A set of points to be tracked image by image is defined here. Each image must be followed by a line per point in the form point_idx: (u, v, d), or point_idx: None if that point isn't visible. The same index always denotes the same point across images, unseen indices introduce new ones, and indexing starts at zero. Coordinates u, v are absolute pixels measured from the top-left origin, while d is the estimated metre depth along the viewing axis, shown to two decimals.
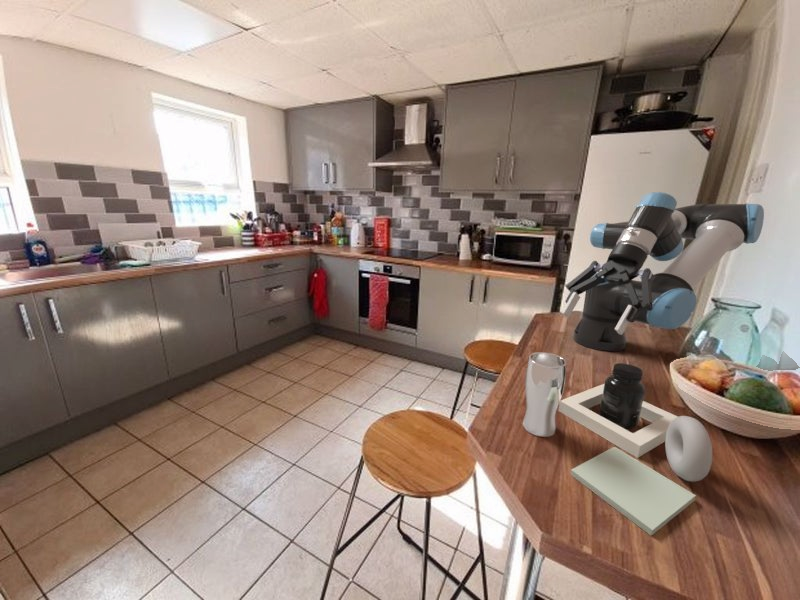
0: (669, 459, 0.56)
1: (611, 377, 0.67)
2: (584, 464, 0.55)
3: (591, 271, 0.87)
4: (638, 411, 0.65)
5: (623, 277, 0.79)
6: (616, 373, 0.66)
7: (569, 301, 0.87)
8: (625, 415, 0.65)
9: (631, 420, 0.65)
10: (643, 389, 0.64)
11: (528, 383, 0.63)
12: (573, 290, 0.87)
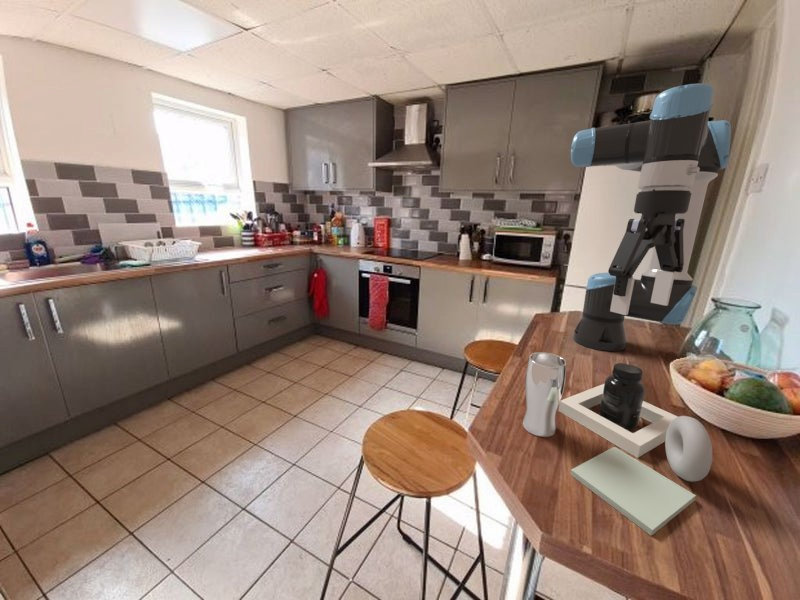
0: (669, 459, 0.56)
1: (611, 377, 0.67)
2: (584, 464, 0.55)
3: None
4: (638, 411, 0.65)
5: (672, 239, 0.59)
6: (616, 373, 0.66)
7: (630, 295, 0.57)
8: (625, 415, 0.65)
9: (631, 420, 0.65)
10: (643, 389, 0.64)
11: (528, 383, 0.63)
12: (630, 276, 0.56)
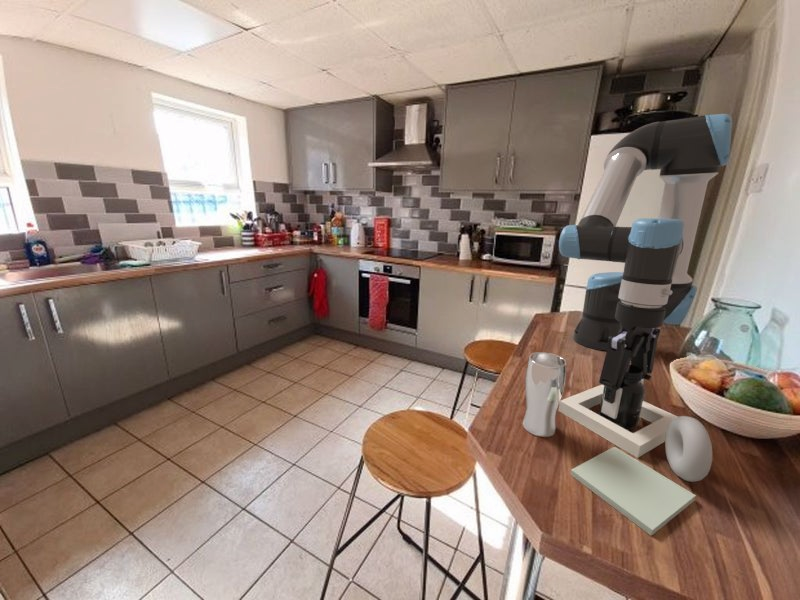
0: (669, 459, 0.56)
1: None
2: (584, 464, 0.55)
3: None
4: (638, 411, 0.65)
5: (647, 347, 0.64)
6: None
7: (618, 402, 0.64)
8: (625, 415, 0.65)
9: (631, 420, 0.65)
10: (643, 389, 0.64)
11: (528, 383, 0.63)
12: None
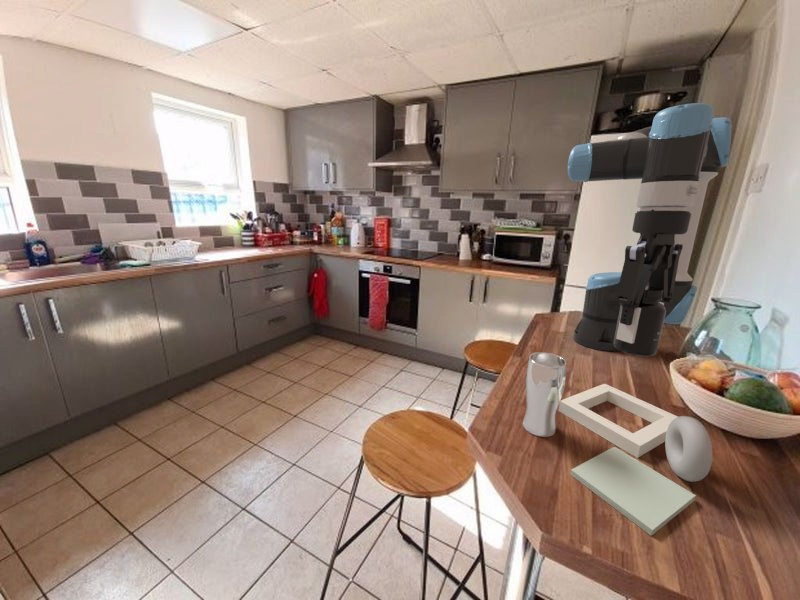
0: (669, 459, 0.56)
1: None
2: (584, 464, 0.55)
3: None
4: (658, 334, 0.58)
5: (669, 261, 0.57)
6: None
7: (636, 323, 0.58)
8: (643, 338, 0.58)
9: (650, 345, 0.58)
10: (664, 309, 0.58)
11: (528, 383, 0.63)
12: (637, 305, 0.57)
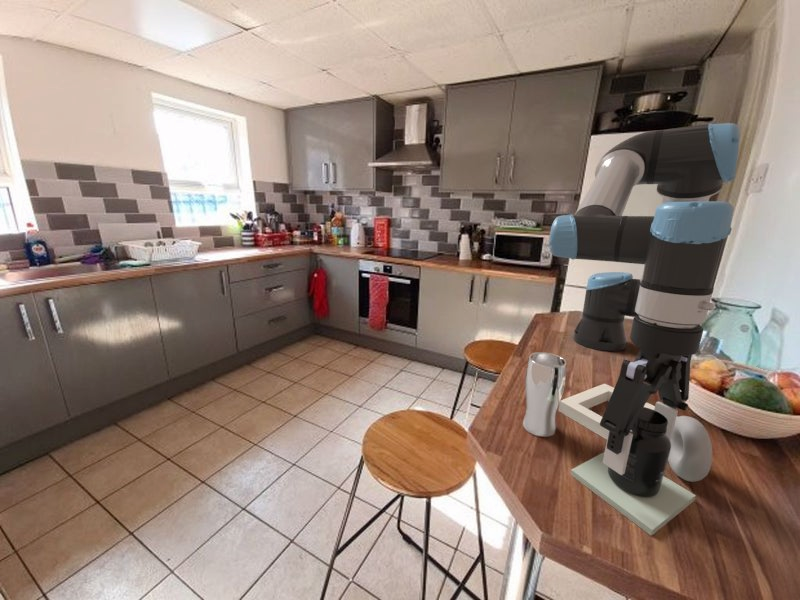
0: (669, 459, 0.56)
1: None
2: (584, 464, 0.55)
3: None
4: (661, 474, 0.48)
5: (677, 377, 0.47)
6: None
7: (627, 452, 0.46)
8: (644, 479, 0.48)
9: (651, 486, 0.48)
10: (669, 445, 0.47)
11: (528, 383, 0.63)
12: None
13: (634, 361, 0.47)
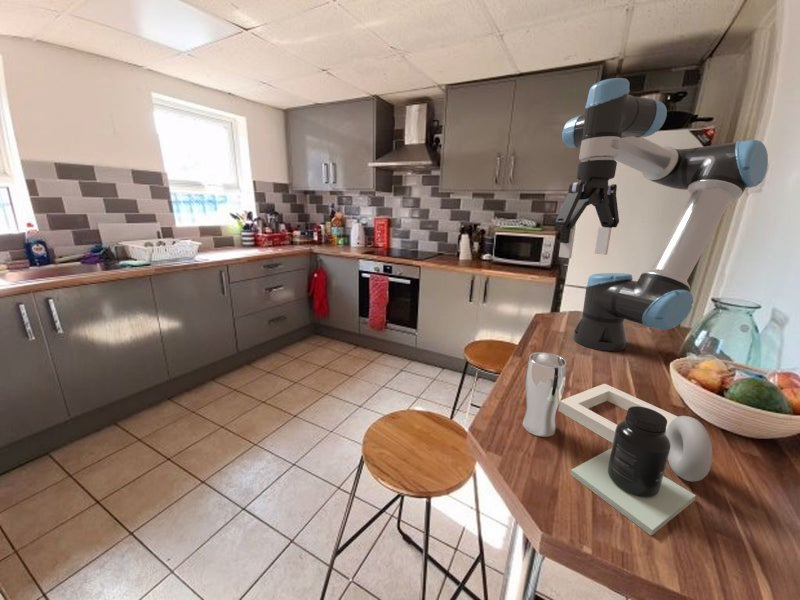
0: (669, 459, 0.56)
1: (624, 425, 0.51)
2: (584, 464, 0.55)
3: None
4: (661, 474, 0.48)
5: (606, 200, 0.76)
6: (631, 422, 0.49)
7: (572, 242, 0.74)
8: (644, 479, 0.48)
9: (651, 486, 0.48)
10: (668, 445, 0.47)
11: (528, 383, 0.63)
12: (571, 227, 0.73)
13: None
